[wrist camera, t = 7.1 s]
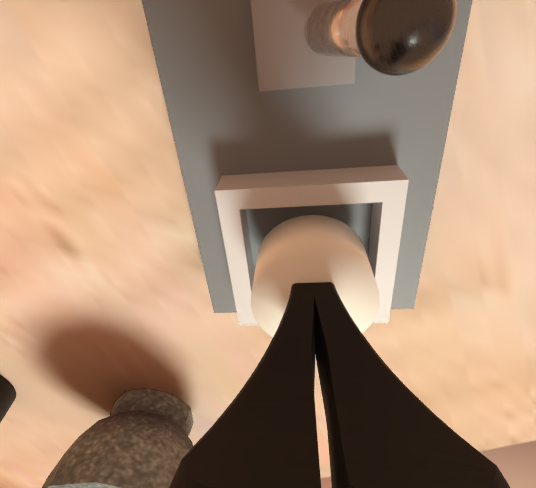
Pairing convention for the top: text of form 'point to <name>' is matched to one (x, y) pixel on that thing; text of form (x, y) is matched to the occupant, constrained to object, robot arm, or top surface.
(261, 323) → the push button
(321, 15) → the toggle lever
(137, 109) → the top surface
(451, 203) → the top surface
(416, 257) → the panel
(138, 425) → the mortar and pestle
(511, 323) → the top surface
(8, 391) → the drinking cup
